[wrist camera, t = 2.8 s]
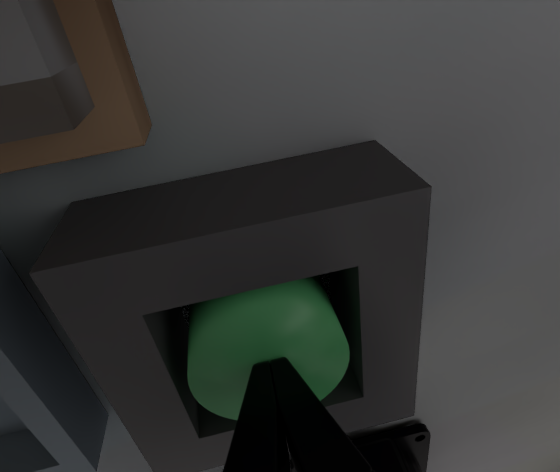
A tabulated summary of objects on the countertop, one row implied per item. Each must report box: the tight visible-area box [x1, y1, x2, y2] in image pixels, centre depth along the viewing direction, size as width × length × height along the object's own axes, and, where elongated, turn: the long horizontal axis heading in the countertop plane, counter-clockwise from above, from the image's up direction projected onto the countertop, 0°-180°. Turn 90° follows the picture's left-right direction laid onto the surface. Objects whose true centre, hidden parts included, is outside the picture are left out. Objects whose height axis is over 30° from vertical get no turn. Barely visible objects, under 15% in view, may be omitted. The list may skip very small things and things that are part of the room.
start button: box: [187, 275, 350, 420], centre depth 11 cm, size 4×4×3 cm
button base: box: [29, 140, 432, 472], centre depth 11 cm, size 8×8×3 cm
